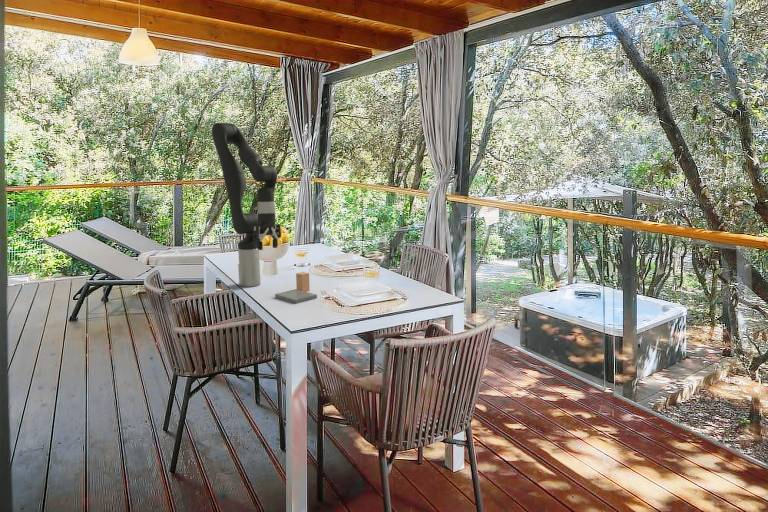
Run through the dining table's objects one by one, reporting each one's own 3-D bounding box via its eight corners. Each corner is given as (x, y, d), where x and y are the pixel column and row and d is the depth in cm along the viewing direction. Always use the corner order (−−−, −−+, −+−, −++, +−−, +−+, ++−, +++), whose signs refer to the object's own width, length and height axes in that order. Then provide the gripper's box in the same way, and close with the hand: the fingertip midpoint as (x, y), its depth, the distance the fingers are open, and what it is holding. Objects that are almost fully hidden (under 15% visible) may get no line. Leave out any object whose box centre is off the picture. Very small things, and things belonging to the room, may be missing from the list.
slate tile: (275, 297, 230) (275, 294, 230) (295, 292, 238) (295, 289, 238) (296, 303, 221) (296, 299, 221) (316, 298, 229) (316, 294, 229)
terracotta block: (296, 291, 241) (296, 273, 239) (303, 289, 244) (303, 271, 242) (302, 292, 238) (301, 274, 237) (309, 290, 241) (309, 273, 240)
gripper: (272, 210, 246) (273, 246, 248) (247, 212, 234) (249, 250, 237) (284, 211, 242) (285, 247, 244) (259, 213, 230) (261, 251, 232)
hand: (267, 248), depth 240 cm, fingers open, 8 cm apart
